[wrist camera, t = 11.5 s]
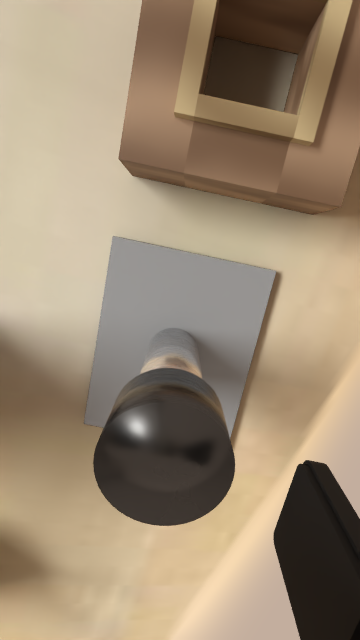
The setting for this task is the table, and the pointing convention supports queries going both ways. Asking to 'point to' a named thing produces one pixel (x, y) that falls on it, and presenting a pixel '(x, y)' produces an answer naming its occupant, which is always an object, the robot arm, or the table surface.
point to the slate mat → (176, 319)
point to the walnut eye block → (243, 119)
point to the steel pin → (166, 439)
